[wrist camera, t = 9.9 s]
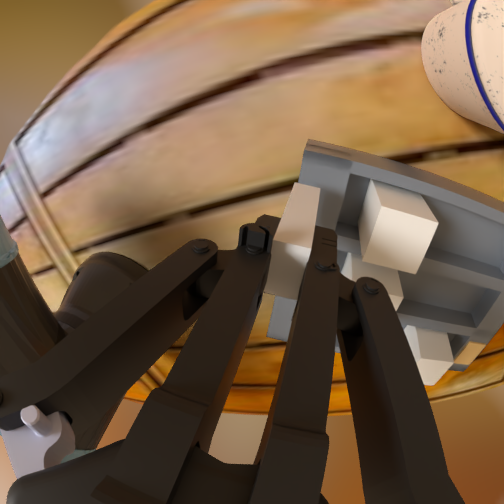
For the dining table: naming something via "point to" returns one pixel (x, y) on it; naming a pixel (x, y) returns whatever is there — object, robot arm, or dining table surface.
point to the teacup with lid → (468, 59)
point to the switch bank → (437, 255)
